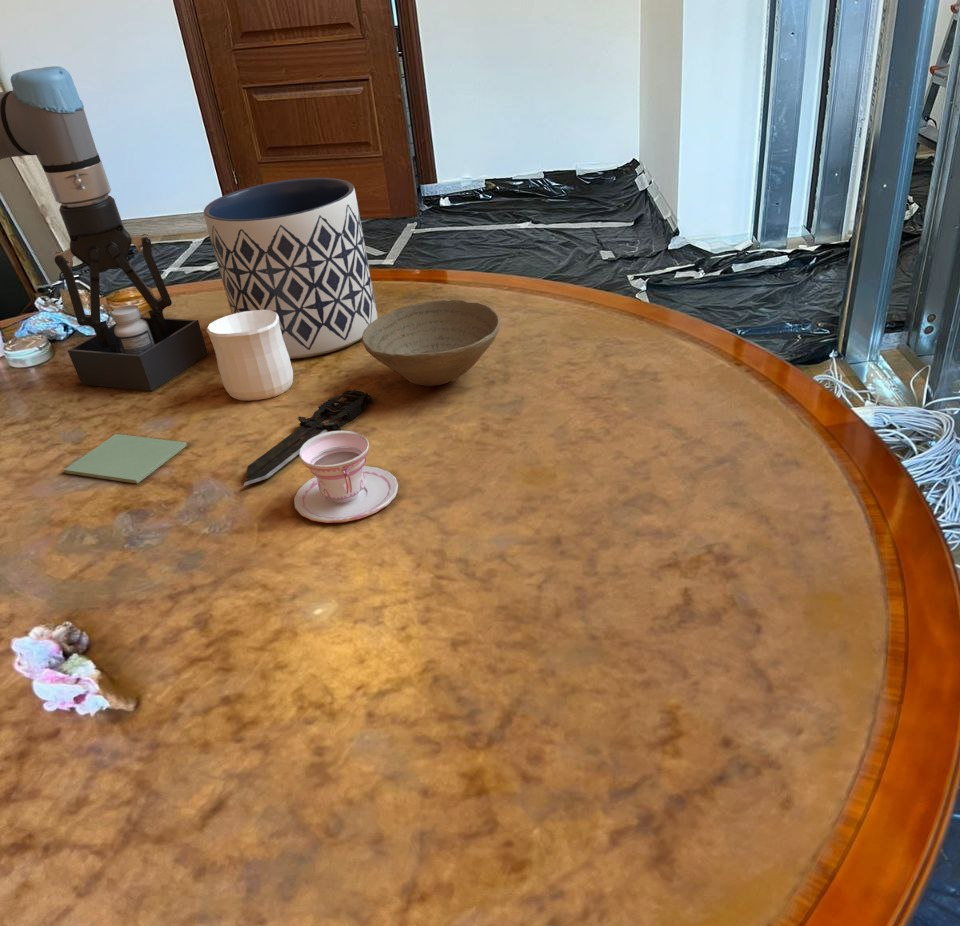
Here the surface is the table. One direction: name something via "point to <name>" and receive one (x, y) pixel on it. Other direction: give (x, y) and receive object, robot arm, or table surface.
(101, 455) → the mat
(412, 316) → the bowl
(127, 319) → the pill bottle
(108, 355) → the box
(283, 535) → the table surface
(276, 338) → the cup
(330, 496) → the teacup
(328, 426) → the knife
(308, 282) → the planter
